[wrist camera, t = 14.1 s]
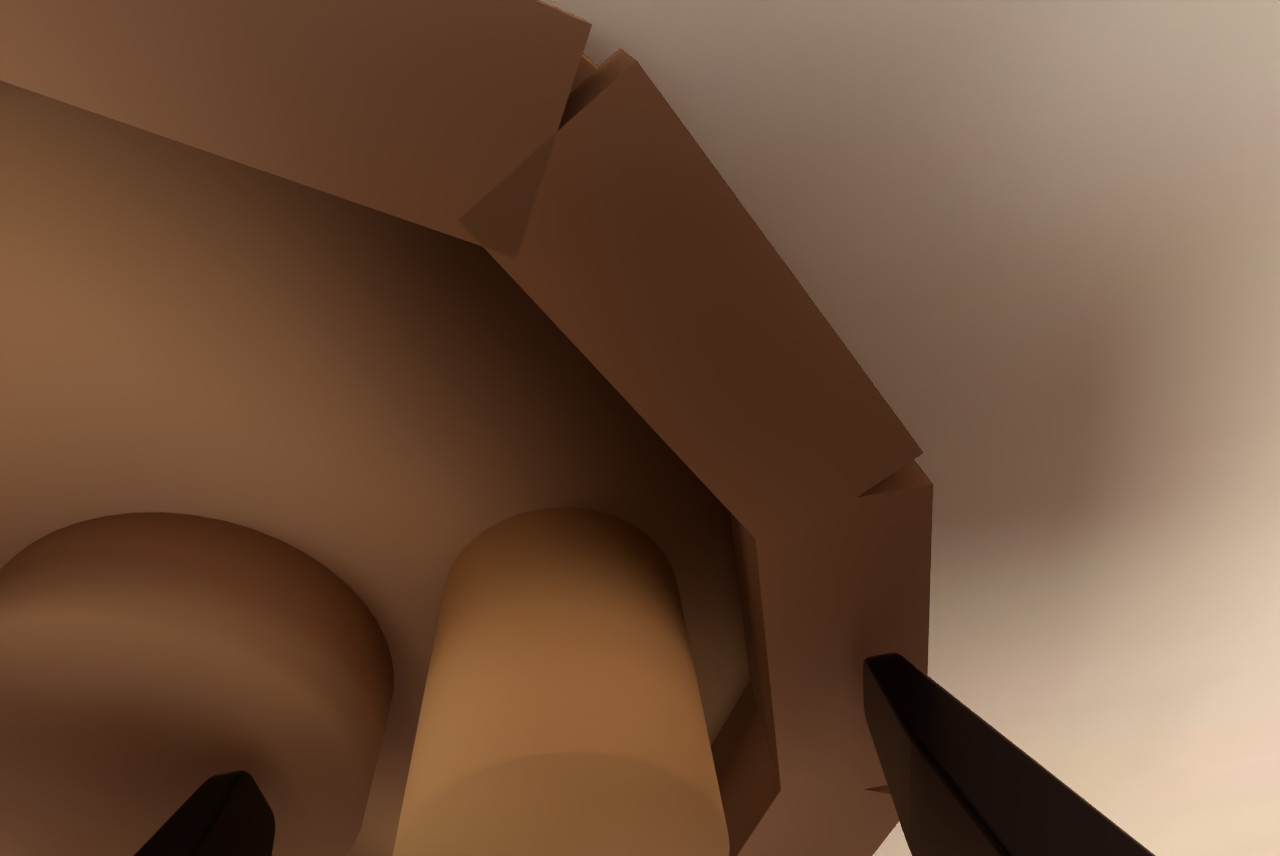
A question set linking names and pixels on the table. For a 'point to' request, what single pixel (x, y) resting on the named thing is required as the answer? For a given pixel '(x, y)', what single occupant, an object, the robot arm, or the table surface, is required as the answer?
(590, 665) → the bead
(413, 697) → the groove tray
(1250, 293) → the table surface
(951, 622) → the table surface
